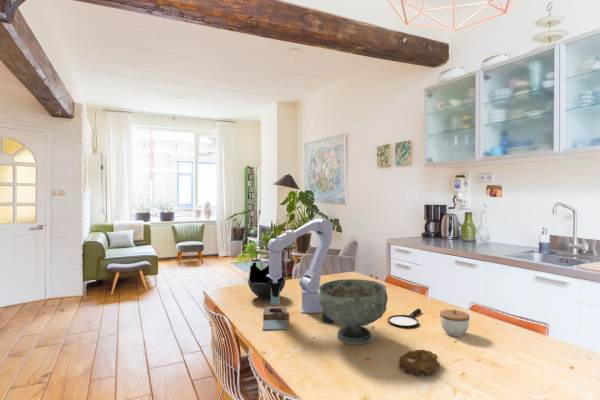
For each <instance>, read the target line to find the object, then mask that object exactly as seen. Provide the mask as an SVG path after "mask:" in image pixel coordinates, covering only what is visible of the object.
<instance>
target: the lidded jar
mask: <svg viewBox="0 0 600 400" xmlns="http://www.w3.org/2000/svg"><path fill="white" fill-rule="evenodd" d="M439 319H440V325H441V327H442V328H443V331H445V332H446V334H447V335H449V336H452V337H462V336H463V335H465V333H466V332H467V331H468V329H469V325H470V314H468V313H467V312H466V311H465V312H464V311H463V310H457V309H442V310H441V311H440V312H439Z"/></svg>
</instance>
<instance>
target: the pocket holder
mask: <svg viewBox="0 0 600 400" xmlns="http://www.w3.org/2000/svg"><path fill="white" fill-rule="evenodd" d="M262 319H263V320H262V321H264V320H287V321H288V306H264V309H263V317H262Z"/></svg>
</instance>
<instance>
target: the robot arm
mask: <svg viewBox="0 0 600 400" xmlns="http://www.w3.org/2000/svg"><path fill="white" fill-rule="evenodd" d="M333 229H334V226H333V224H332V222H331V221H330V220H329V219H326V218H325V219H323V218H320V217H317V218H314V219H312V220H309V221H308V222H306V223H305V224H303V225H302V226H300V227H298V228H297V229H295V230H285V231H284V233H282V234H281V235H280V234H279V235H276V236H275V238H270V239H269V241H268V242H267V244H266V248H267V250H268V265H269V275H267V277H269V280H270V281H269V284H270V286H271V289H272V294H273V297H278V293H279V288H280V285H281V283H282V281H281V279H282V278H281V277H282V273H283V272H282V271H283V270H282V266H283V265H282V263H283V261H282V258H283V257H282V252H283V250H284V248H287V247H288V246H290V245H292V244H293V243H295V242H296V241H297V239H298V238H299V237H301V236H303V235H305V234H307V233H309V232H315V233H316V234H317V236H318V238H319V240H318V241H319V242H318V244H317V247H316V249H315V252H314V254H313V257H312V259H311V261H310V265H309V267H308V270H306V271H305V272H304V274H303V276H302V277H301V278H300V279H299V286H300V288H301V306H300V312H301V313H302V314H309V313H311V314H313V313H314V314H315V313H316V314H317V313H323V309H322V307H321V304H320V301H319V295H320V290H319V287H320V286H321V285H320V282H321V276H320V273H321V270H322V267H323V265H324V263H325V260H326V257H327V254H328V252H329V249H330V247H331V243H332V241H333V232H332V231H333Z"/></svg>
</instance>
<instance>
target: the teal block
mask: <svg viewBox="0 0 600 400" xmlns="http://www.w3.org/2000/svg"><path fill="white" fill-rule="evenodd" d="M280 303H281V292H280V288H279V293H278V297H273V294H272V289H271V298H270V305H281V304H280Z"/></svg>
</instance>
